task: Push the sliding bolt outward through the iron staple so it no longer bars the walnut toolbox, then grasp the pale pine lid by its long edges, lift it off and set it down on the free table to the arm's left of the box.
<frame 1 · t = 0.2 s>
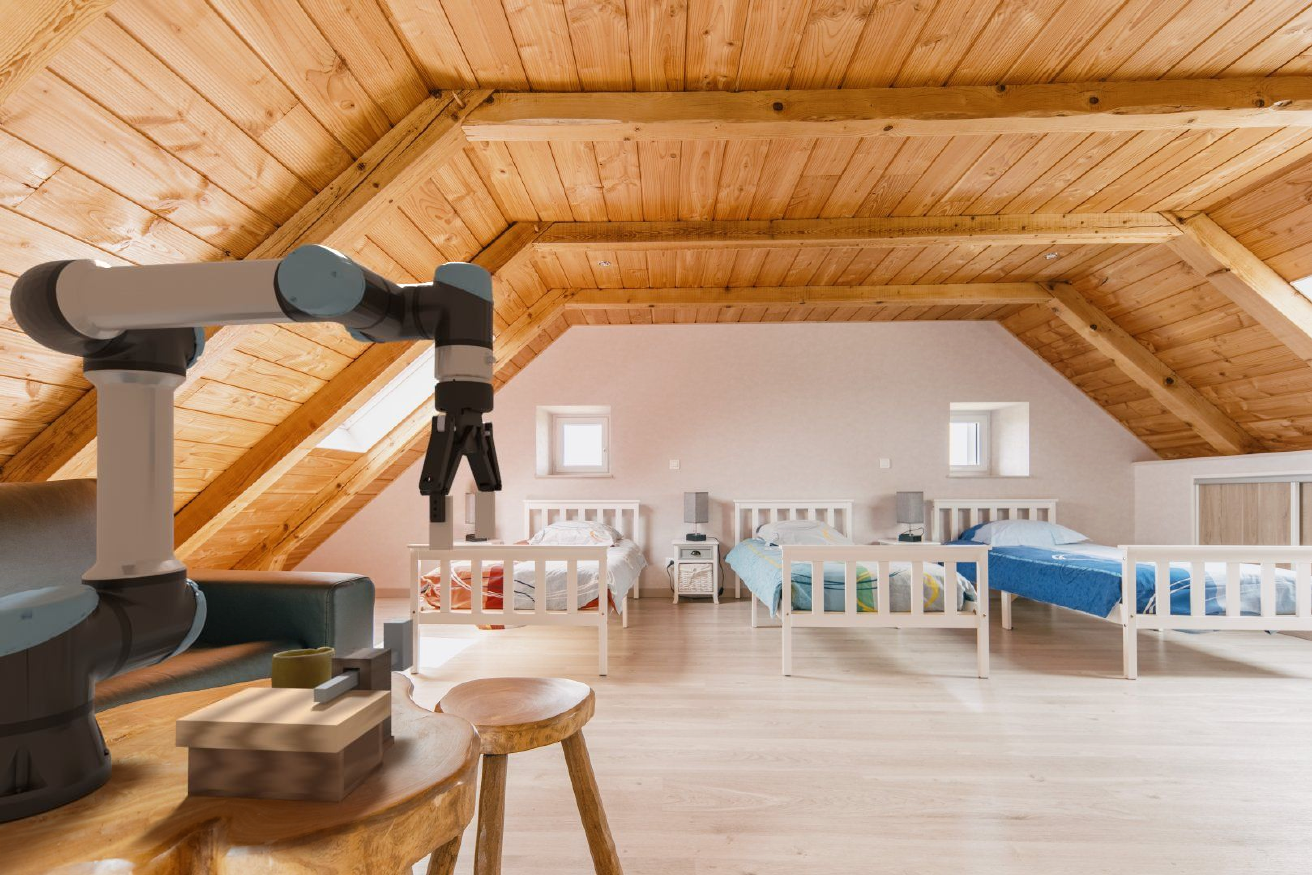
hand: (464, 543, 87), 28 cm above the table, fingers open, 13 cm apart
lid: (289, 729, 81), point 6 cm above the table, touching toolbox
sliding bolt: (366, 660, 90), point 12 cm above the table, slide at 0.0 cm
toolbox: (288, 780, 80), on the table
mug: (309, 699, 110), on the table
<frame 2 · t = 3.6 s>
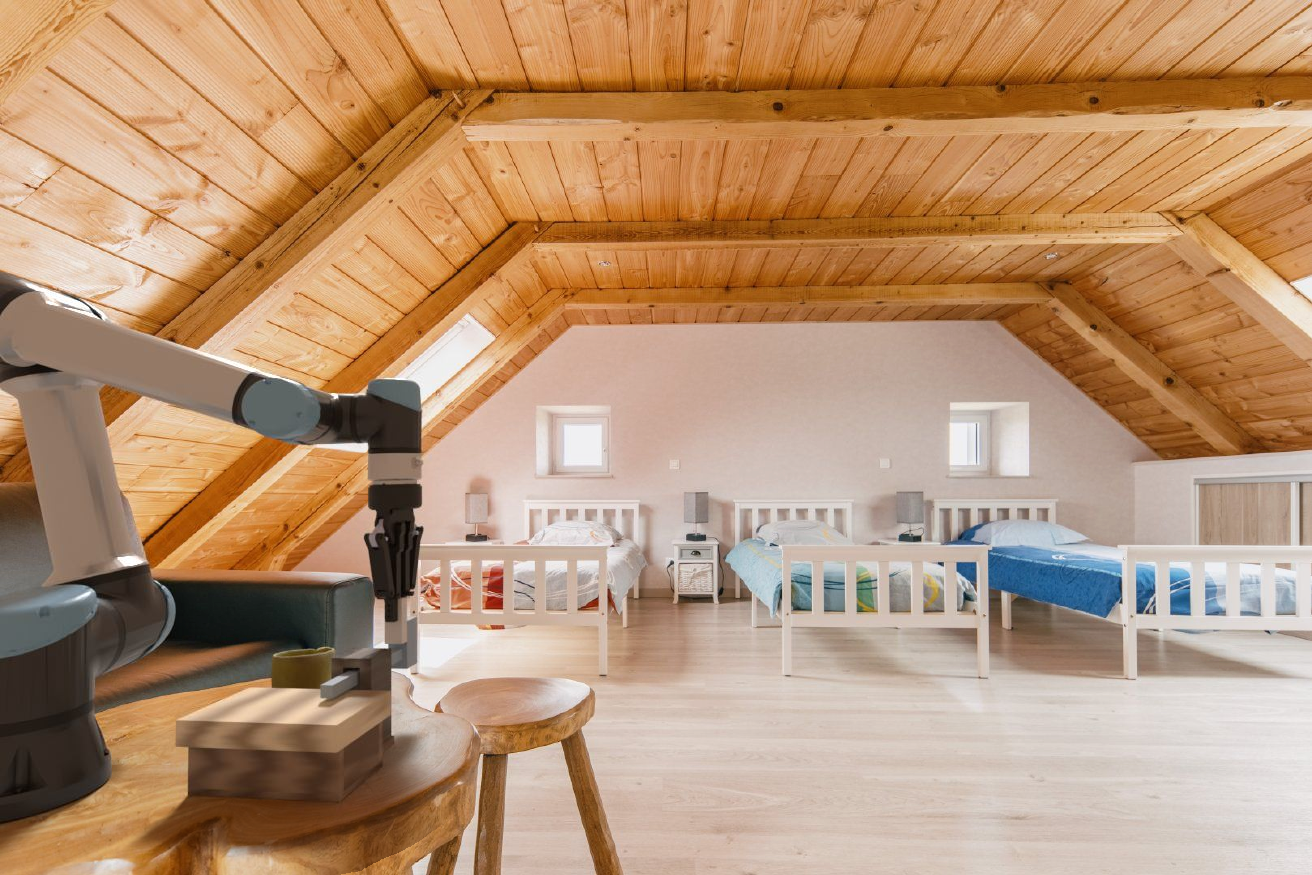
hand: (395, 642, 98), 12 cm above the table, fingers closed
sliding bolt: (371, 658, 91), point 12 cm above the table, slide at 1.3 cm, touching gripper
everything else where it was.
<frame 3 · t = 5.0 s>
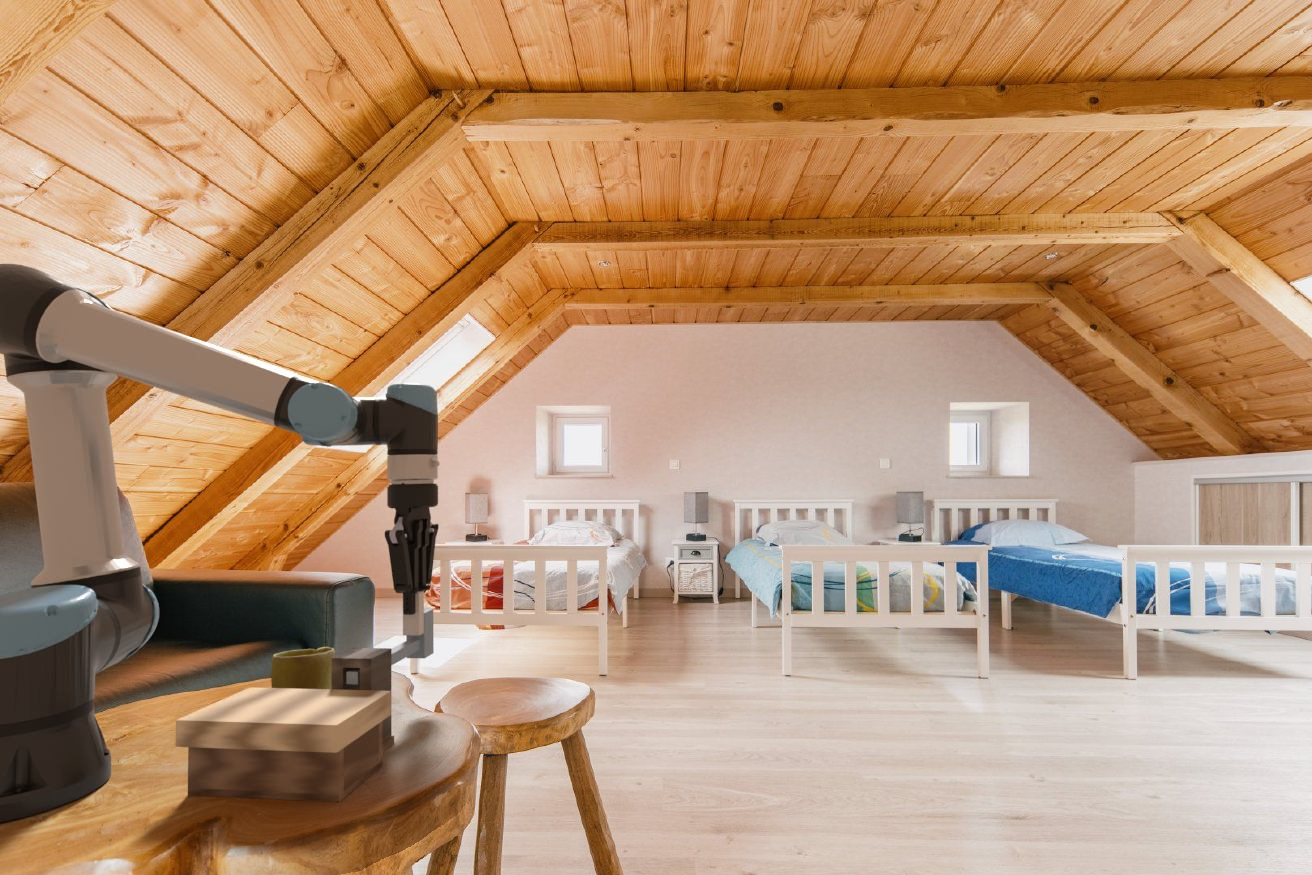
hand: (413, 633, 103), 12 cm above the table, fingers closed
sliding bolt: (392, 647, 97), point 11 cm above the table, slide at 6.7 cm, touching gripper
everything else where it was.
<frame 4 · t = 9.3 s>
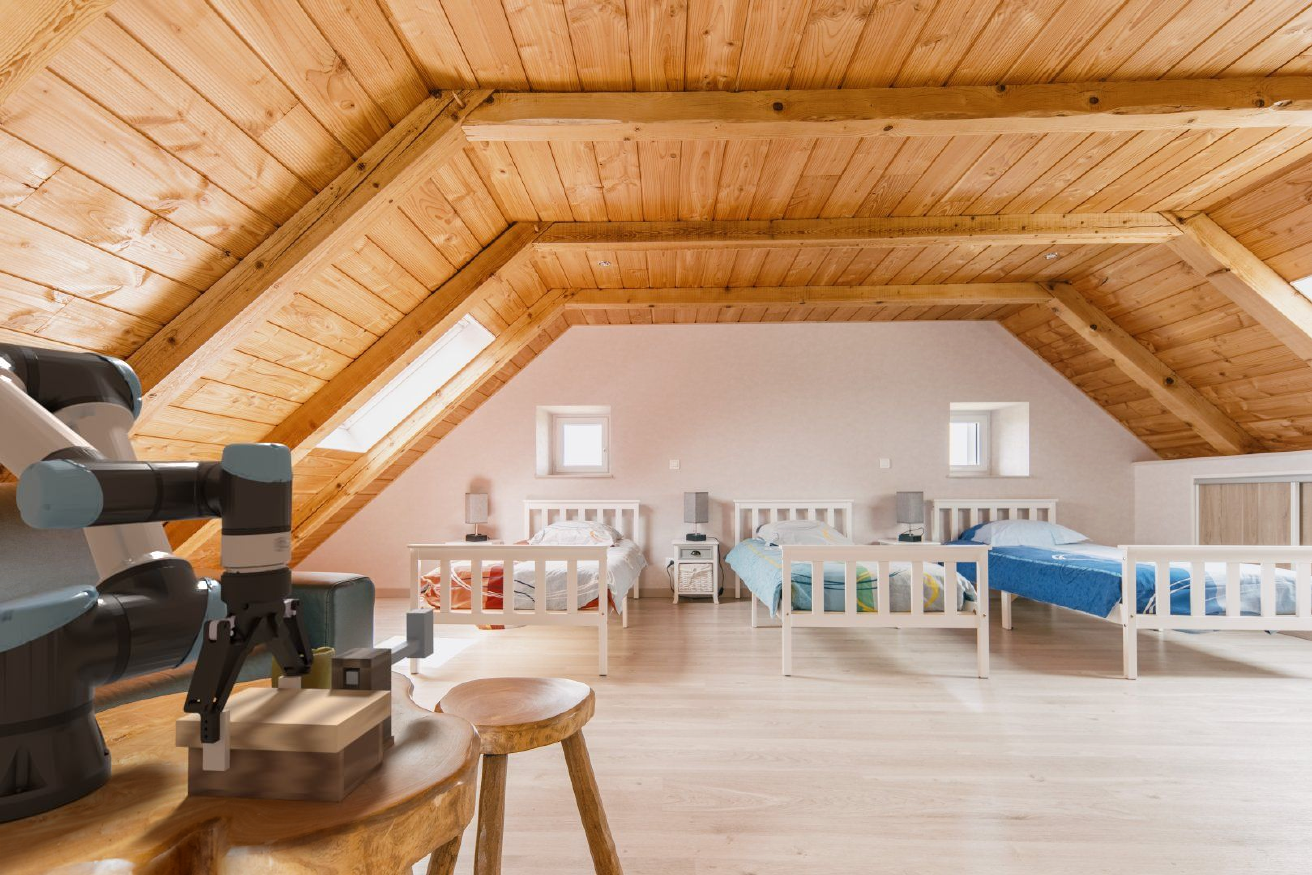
hand: (255, 746, 81), 4 cm above the table, fingers closed on lid, 11 cm apart
lid: (289, 729, 81), point 6 cm above the table, touching gripper, toolbox
sliding bolt: (392, 647, 97), point 12 cm above the table, slide at 6.7 cm
everything else where it was.
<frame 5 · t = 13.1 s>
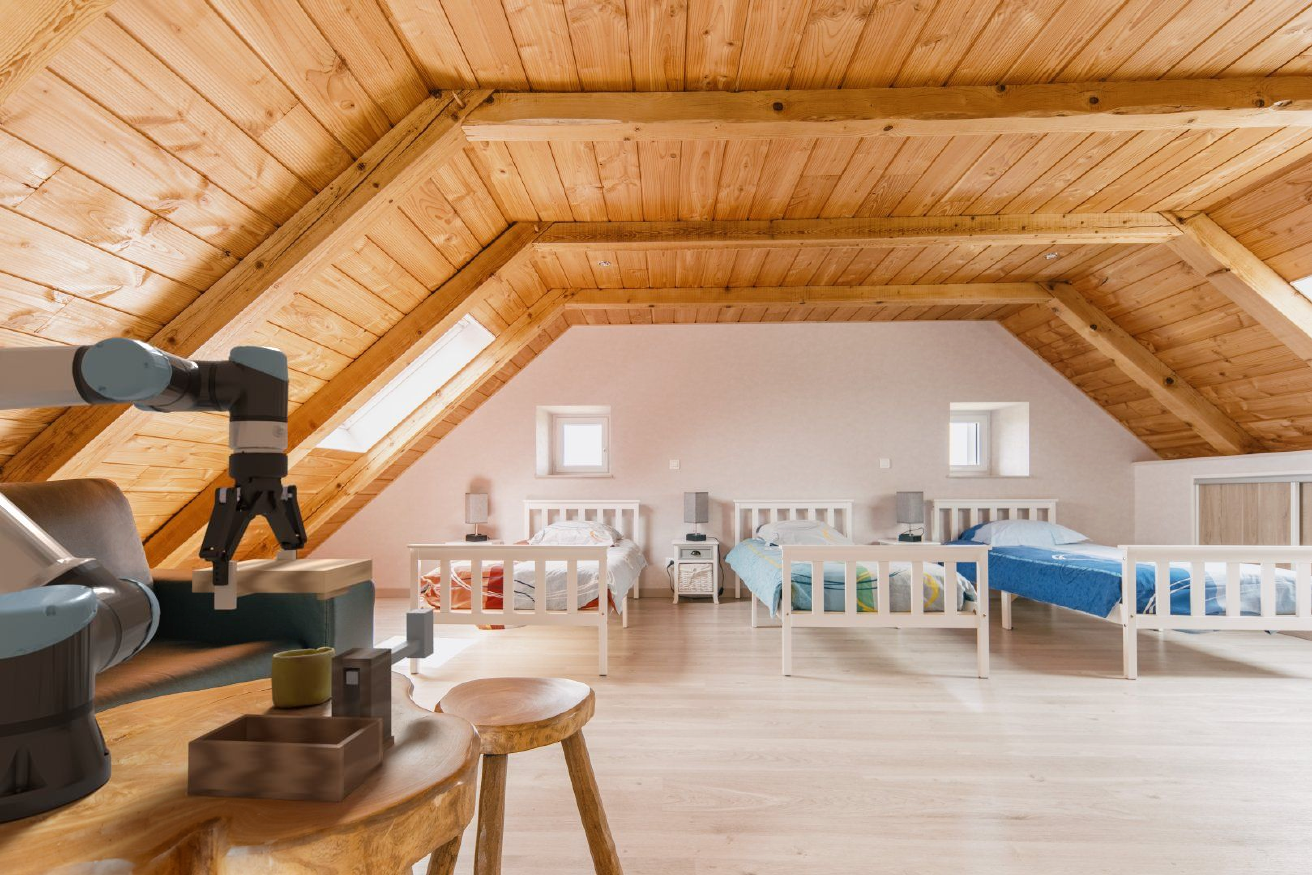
hand: (257, 600, 97), 19 cm above the table, fingers closed on lid, 11 cm apart
lid: (286, 585, 97), point 21 cm above the table, touching gripper
everything else where it was.
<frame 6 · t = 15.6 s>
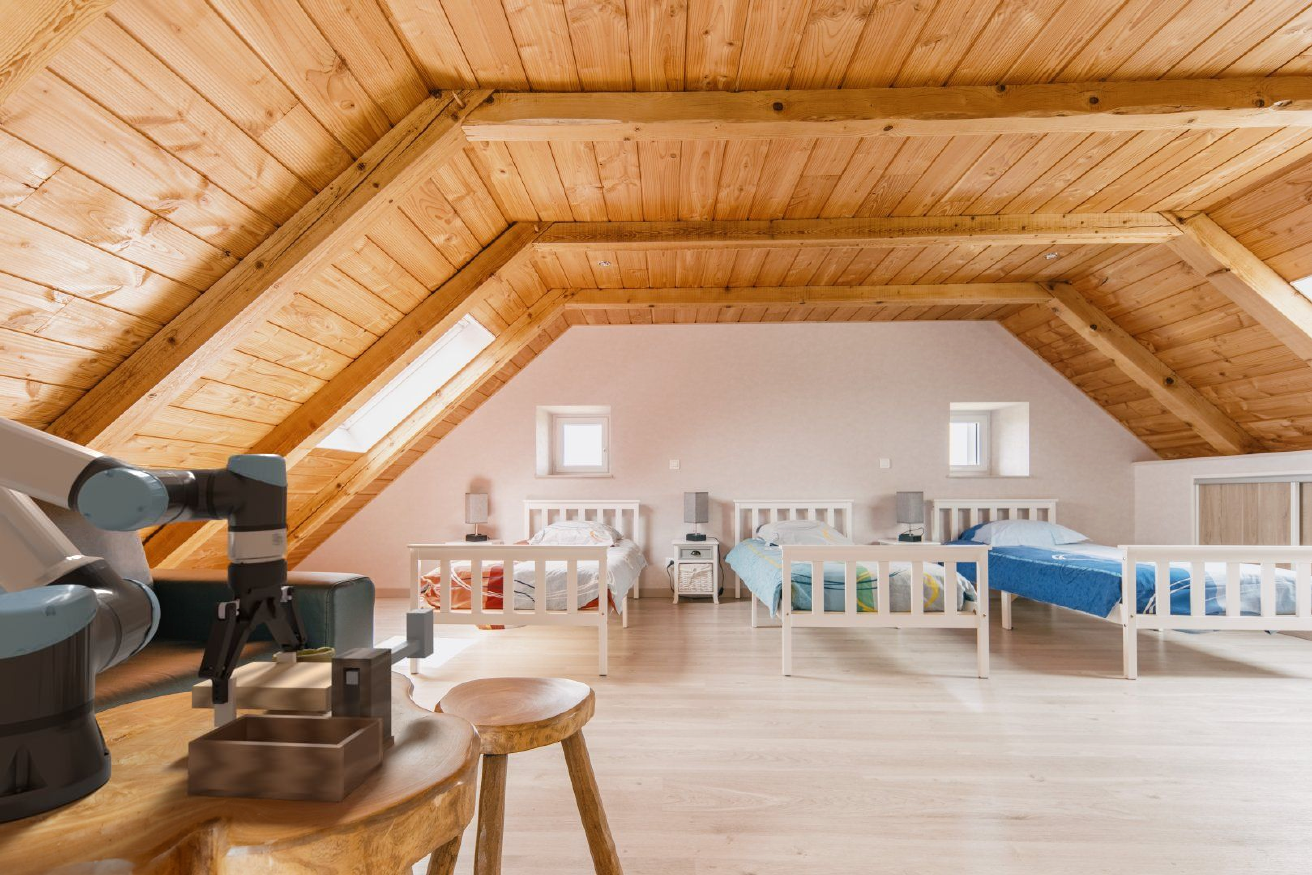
hand: (257, 709, 96), 3 cm above the table, fingers closed on lid, 11 cm apart
lid: (286, 695, 96), point 5 cm above the table, touching gripper
mug: (309, 699, 110), on the table, touching gripper
everything else where it was.
when the fingers open (2 cm above the table, at t = 16.8 s): lid drops 2 cm, point 1 cm above the table.
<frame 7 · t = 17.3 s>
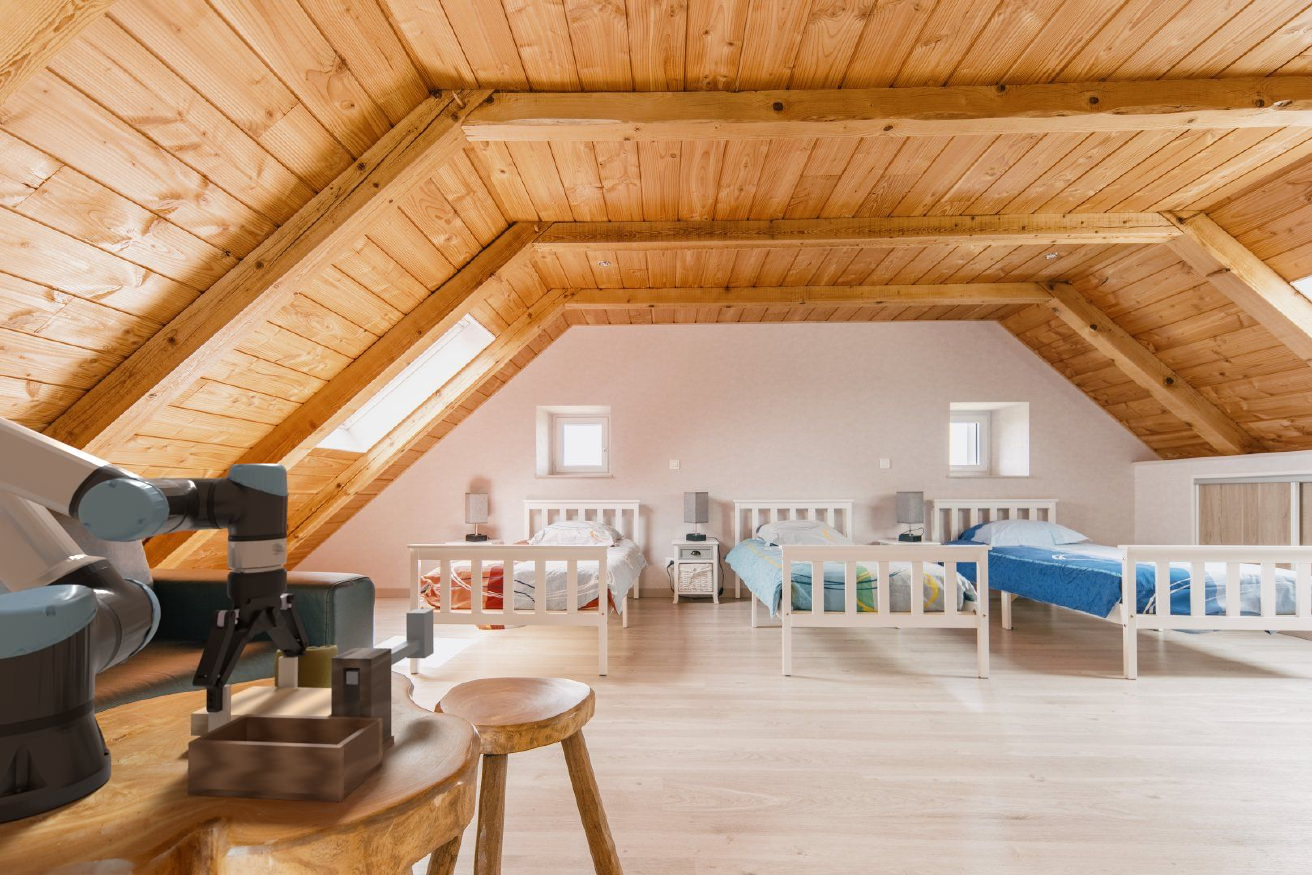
hand: (256, 716, 96), 2 cm above the table, fingers open, 13 cm apart
lid: (285, 721, 95), point 1 cm above the table
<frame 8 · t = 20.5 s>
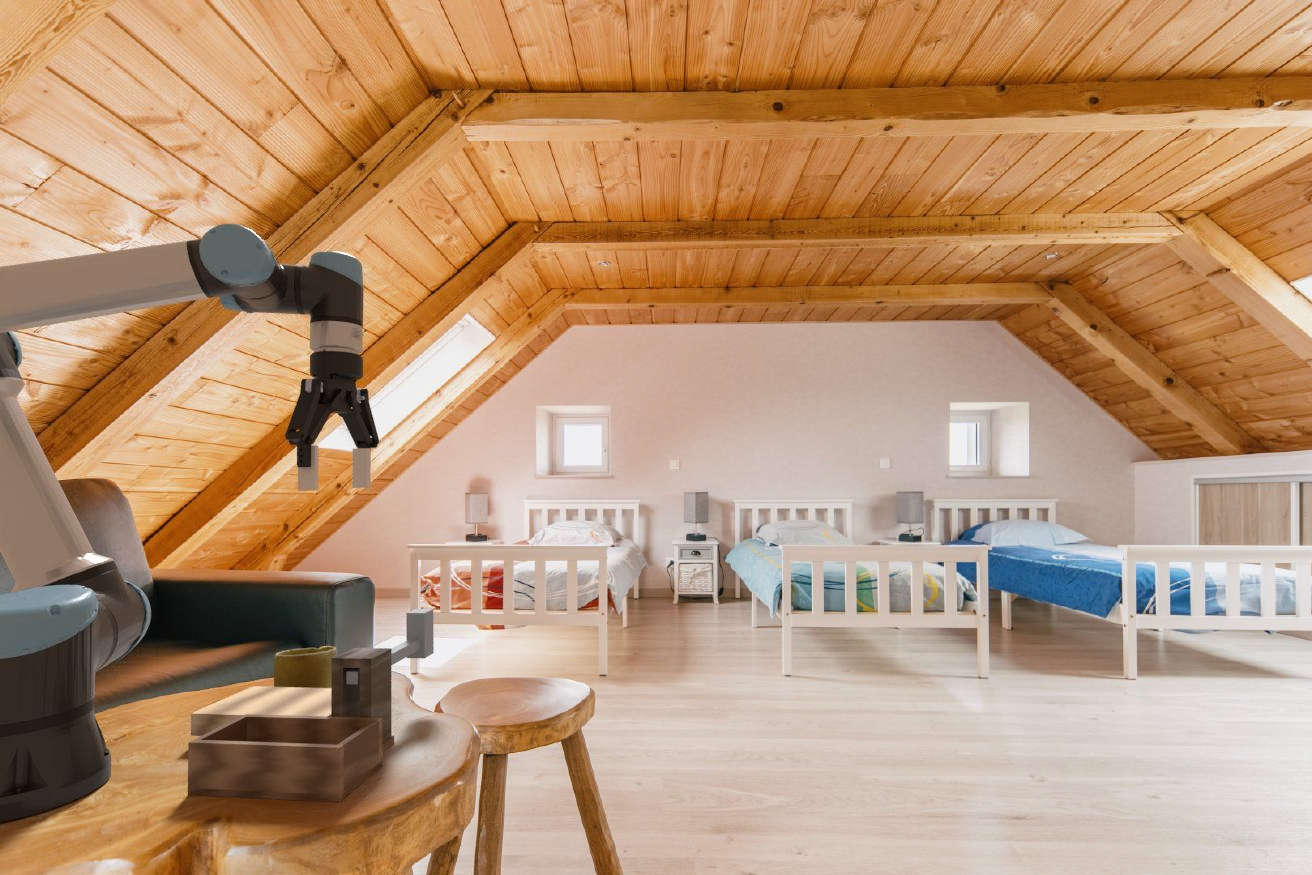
hand: (336, 489, 103), 35 cm above the table, fingers open, 13 cm apart
mug: (311, 697, 111), on the table
everything else where it was.
at the end: sliding bolt slide at 6.7 cm; lid inside the target area (0.3 cm from its centre), point 1.5 cm above the table; lid tilted 0° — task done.
